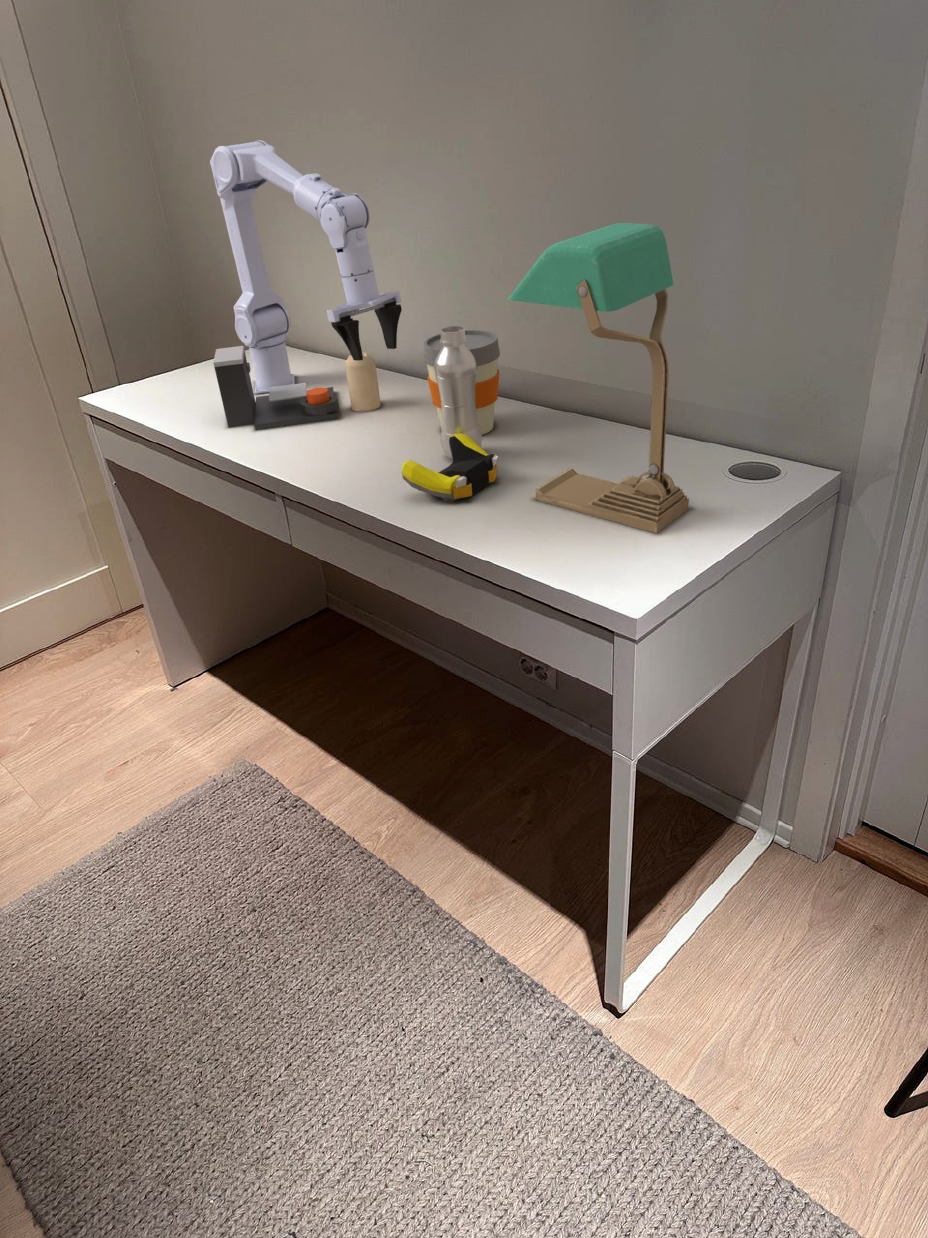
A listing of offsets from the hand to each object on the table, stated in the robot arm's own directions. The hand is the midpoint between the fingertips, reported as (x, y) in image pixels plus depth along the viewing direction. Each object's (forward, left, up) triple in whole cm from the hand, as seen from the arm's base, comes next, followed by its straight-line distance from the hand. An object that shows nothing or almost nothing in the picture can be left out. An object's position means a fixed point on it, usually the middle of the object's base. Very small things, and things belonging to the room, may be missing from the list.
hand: (375, 354), depth 155 cm
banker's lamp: (+51, +26, -11) cm, 58 cm away
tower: (-7, -21, -10) cm, 24 cm away
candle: (-3, -3, -11) cm, 11 cm away
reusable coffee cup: (+15, +13, -11) cm, 22 cm away
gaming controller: (+38, +7, -11) cm, 40 cm away
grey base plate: (-6, -16, -10) cm, 20 cm away
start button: (-2, -11, -8) cm, 14 cm away
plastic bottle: (+27, +10, -11) cm, 30 cm away
